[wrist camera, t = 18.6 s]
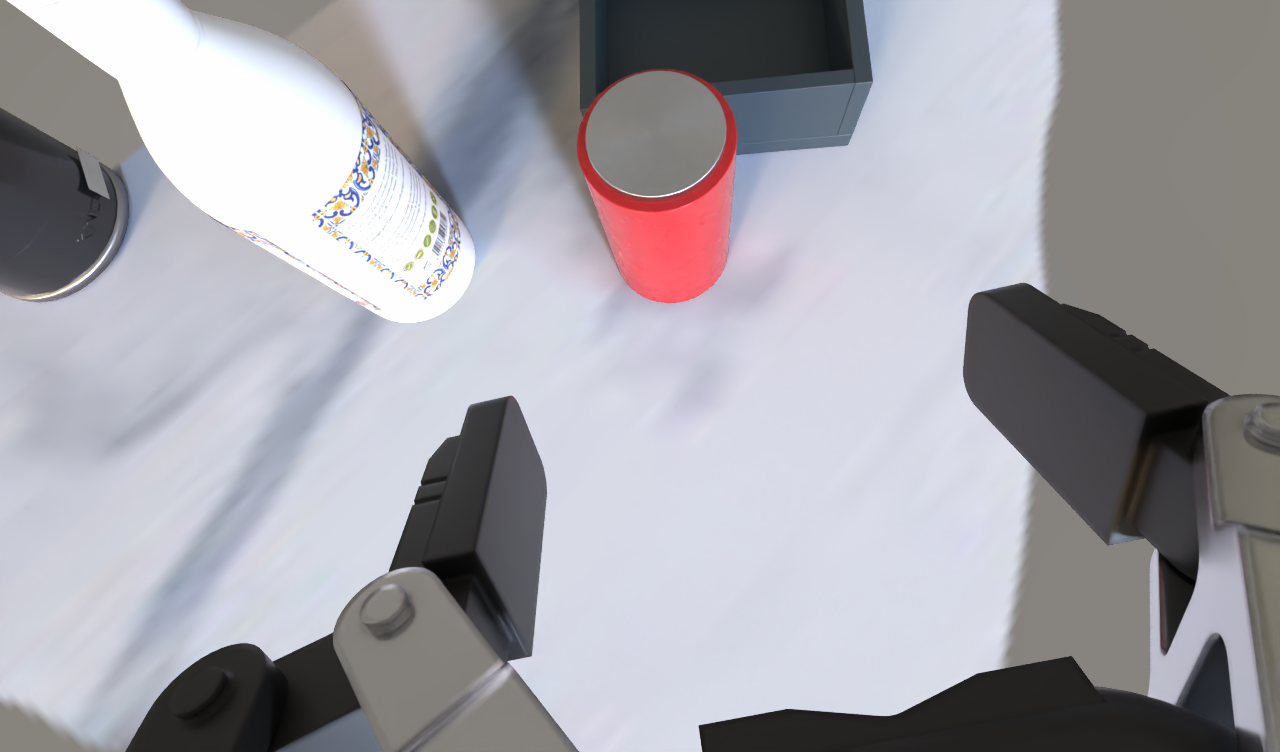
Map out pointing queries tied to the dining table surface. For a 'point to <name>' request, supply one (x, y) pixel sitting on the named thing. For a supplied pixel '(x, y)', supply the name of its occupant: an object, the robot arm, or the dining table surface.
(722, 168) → the can
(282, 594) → the dining table surface
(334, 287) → the bath foam
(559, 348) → the dining table surface
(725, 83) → the tub
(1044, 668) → the robot arm
